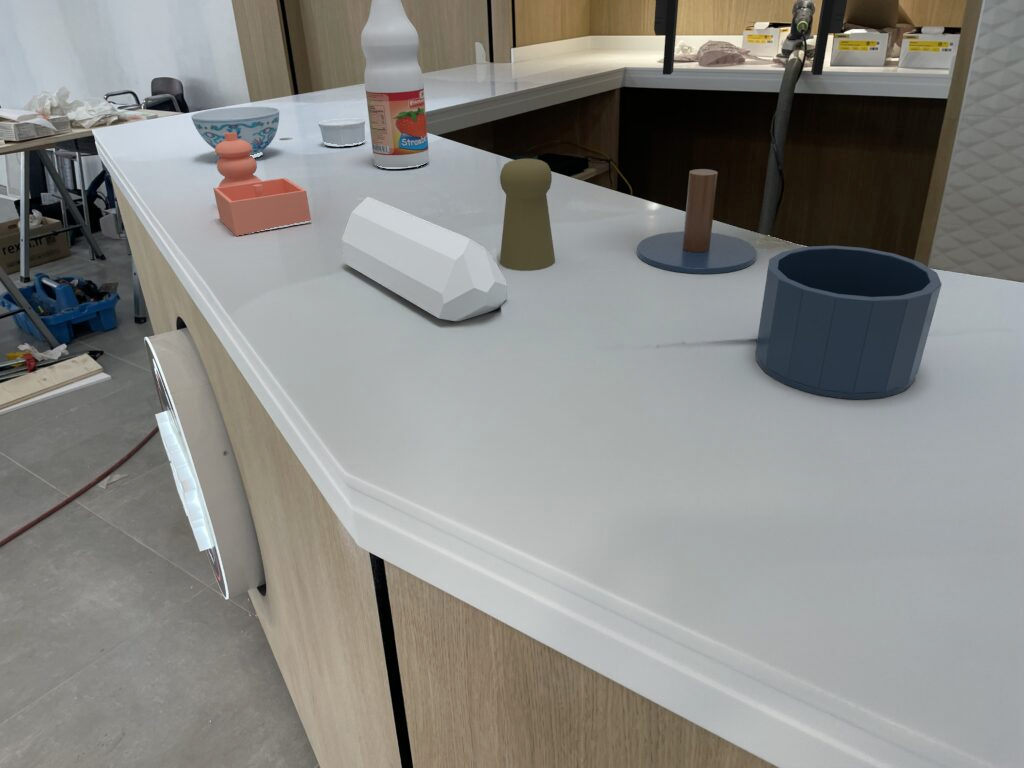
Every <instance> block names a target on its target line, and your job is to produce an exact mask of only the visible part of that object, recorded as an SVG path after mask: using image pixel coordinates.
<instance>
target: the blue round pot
mask: <svg viewBox="0 0 1024 768" xmlns="http://www.w3.org/2000/svg"><path fill="white" fill-rule="evenodd" d="M766 272H767V273H766V277H765V286H764V291H763V299H762V305H761V313H760V320H759V326H758V332H757V333H758V334H757V340H756V347H755V359H756V362H757V364H758V366H759V367H760V368H761V369H762V370H763V371H764V372H765V373H766V374H768V375H769V376H770V377H771V378H773V379H775V380H777V381H779V382H780V383H782V384H784V385H786V386H789V387H791V388H794V389H797V390H800V391H802V392H803V391H804V392H807V393H809V394H810V393H811V394H814V395H817V396H818V395H819V396H823V397H830V398H836V399H846V400H872V399H881V398H887V397H891V396H894V395H897V394H900V393H902V392H903V391H905V390H907V389H908V388H910V387H911V386H912V385H913V383H914V382H915V379H916V376H917V374H918V373H919V370H920V366H921V363H922V360H923V355H924V351H925V347H926V345H927V344H926V343H927V340H928V337H929V332H930V329H931V325H932V322H933V317H934V314H935V311H936V307H937V303H938V300H939V295H940V293H941V290H942V289H941V288H942V281H941V279H940V276H939V274H938V272H937V271H935V270H934V269H932V268H930V267H928V266H927V265H925V264H924V263H923V262H920V261H917V260H914V259H912V258H909V257H905V256H903V255H899V254H897V253H893V252H886V251H882V250H876V249H872V248H866V247H857V246H844V245H817V246H816V245H815V246H814V245H813V246H803V247H797V248H793V249H788V250H782V251H781V252H779V253H777V254H775V255H774V256H772V257H770V258H769V260H768V265H767V271H766Z"/></svg>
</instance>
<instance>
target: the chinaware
mask: <svg viewBox="0 0 1024 768" xmlns="http://www.w3.org/2000/svg"><path fill="white" fill-rule="evenodd" d="M190 119H191V121H192V124H193V125H194V127H195V129H196V130H197V133H198V134H199V136H200V137H201V138H202V139H203V140H204V142H206V143H207V145H209V146H210V147H211V148H212V149H214V150H215V147H216V146H217V145H218V144H219V143H220V142H223V141H226V139H225V135H224V133H228V132H237V137H238V140H244V141H246V142H248V143H249V144H251V146H252V151H251V153H250V154H248V155H254V154H257V153H260V152H262V151H263V152H264V150H266V148H268V146H269V145H271V143H272V142H273V140H274V138H275V137H276V134H277V132H278V129H279V125H280V124H279V123H280V109H279V108H277V107H271V106H235V107H226V108H225V107H224V108H216V109H210V110H209V109H208V110H204V111H199V112H196V113H193V114H191V116H190Z"/></svg>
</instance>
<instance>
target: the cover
mask: <svg viewBox="0 0 1024 768" xmlns="http://www.w3.org/2000/svg"><path fill="white" fill-rule="evenodd" d="M718 174H719V172H718V171H716V170H713V169H708V168H698V169H692V170H689V172H688V183H687V192H686V193H687V194H686V206H685V214H684V215H685V217H684V228H683V231H672V232H663V233H658V234H655V235H651V236H648V237H646V238H644V239H642V240H640V242H639V243H637V245H636V254H637V257H638V258H639V259H640V260H641V261H643V262H644V263H646V264H648V265H650V266H652V267H654V268H658V269H663V270H666V271H671V272H677V273H684V274H696V275H697V274H698V275H702V274H703V275H708V274H709V275H711V274H712V275H713V274H724V273H731V272H737V271H740V270H743V269H746V268H749V267H750V266H752V265H753V264H754V263H755V262H756V260H757V257H758V250H757V249H756V246H754V245H752V243H750V242H748V241H745V240H743V239H741V238H738V237H735V236H731V235H727V234H723V233H716V232H713V221H714V214H715V213H714V212H715V201H716V194H717V193H716V192H717V184H718Z"/></svg>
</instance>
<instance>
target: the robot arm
mask: <svg viewBox="0 0 1024 768" xmlns="http://www.w3.org/2000/svg"><path fill="white" fill-rule="evenodd" d="M847 4H848V0H821V6H820V12H819V18H818V25H817V31H816V38H815V44H814V51H813V56H812V63H811V69H810V73H811V75H812V76H822V75H823V71H824V70H823V69H824V65H825V57H826V52H827V45H828V40H829V35H830V34H833V35H834V34H835V35H836V34H840V33H841V31H842V30H843V27H844V22H845V16H846V11H847ZM678 10H679V0H655V6H654V23H653V31H654V35H655V36H664V47H663V51H664V52H663V63H662V75H672V73H673V72H674V66H675V65H674V64H675V52H676V39H677V38H676V36H677V27H678V26H677V24H678V12H679V11H678Z"/></svg>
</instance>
